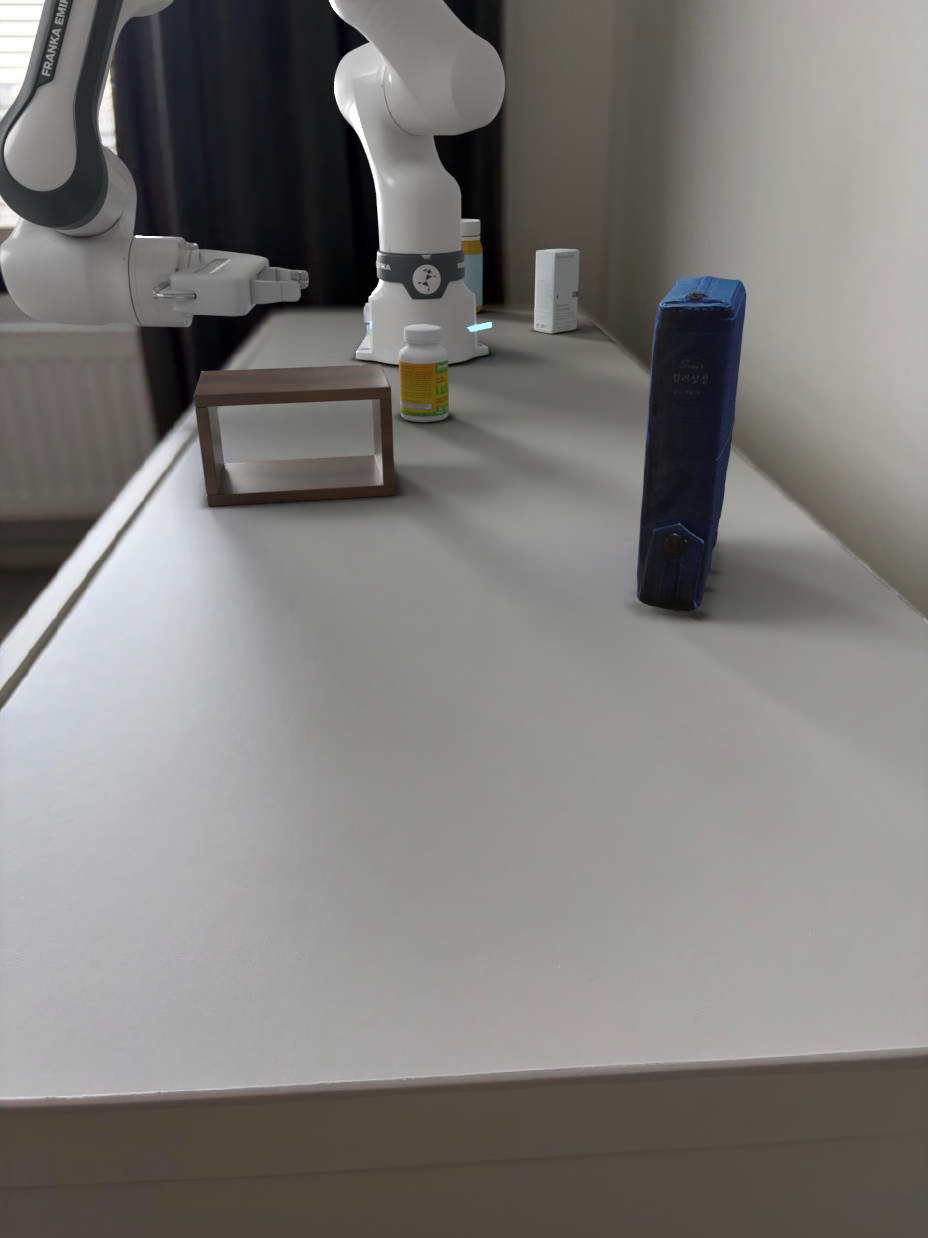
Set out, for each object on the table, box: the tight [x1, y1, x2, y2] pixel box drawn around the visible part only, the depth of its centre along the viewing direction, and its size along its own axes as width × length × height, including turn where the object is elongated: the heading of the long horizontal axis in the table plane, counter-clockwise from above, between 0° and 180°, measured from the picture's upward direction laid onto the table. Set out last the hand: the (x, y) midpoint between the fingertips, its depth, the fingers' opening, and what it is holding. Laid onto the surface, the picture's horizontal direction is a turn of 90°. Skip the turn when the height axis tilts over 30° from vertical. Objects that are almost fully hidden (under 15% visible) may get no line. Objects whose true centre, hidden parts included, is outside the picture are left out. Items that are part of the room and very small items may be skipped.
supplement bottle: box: [398, 324, 450, 423], centre depth 105 cm, size 5×5×10 cm
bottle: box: [461, 218, 484, 314], centre depth 168 cm, size 7×7×15 cm
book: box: [636, 275, 747, 613], centre depth 64 cm, size 14×5×20 cm, turn 163°
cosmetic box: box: [533, 248, 581, 334], centre depth 152 cm, size 6×4×12 cm
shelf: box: [193, 363, 396, 507], centre depth 85 cm, size 9×16×10 cm, turn 100°
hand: (304, 285), depth 100 cm, fingers open, 8 cm apart
